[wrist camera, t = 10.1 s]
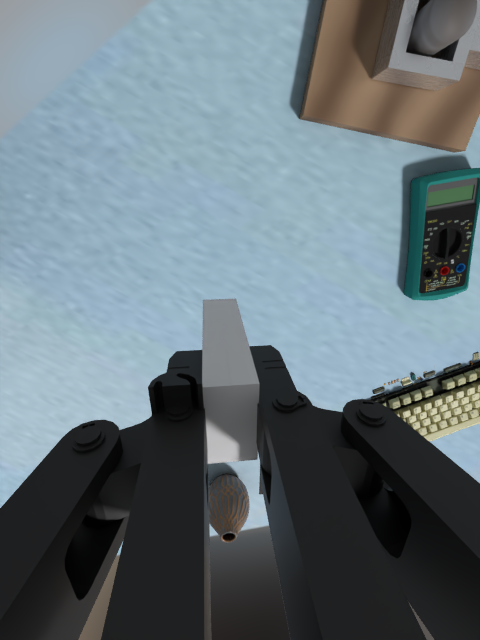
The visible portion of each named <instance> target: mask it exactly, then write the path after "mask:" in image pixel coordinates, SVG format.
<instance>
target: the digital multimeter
mask: <svg viewBox="0 0 480 640" xmlns="http://www.w3.org/2000/svg"><path fill="white" fill-rule="evenodd" d="M479 204H480V168H473V169H461V170H452V171H445V172H439V173H434V174H430V175H426V176H422V177H419V178H415V179H413V180H412V182H411V205H410V234H409V250H408V261H407V272H406V280H405V288H404V295H406V296H407V297H409V298H411V299H413V300H438V299H443V298H447V297H450V296H453V295H455V294H458V293H460V292H463V291H465V290H466V289H467V288H468V283H469V272H470V263H471V256H472V249H473V241H474V235H475V228H476V222H477V216H478V209H479ZM424 222H425V225H424ZM423 234H424V237H423ZM422 246H423V249H422ZM421 258H422V261H421ZM419 283H420V284H419ZM444 289H445V290H444ZM433 291H434V292H433ZM427 292H428V293H427Z"/></svg>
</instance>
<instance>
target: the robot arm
mask: <svg viewBox="0 0 480 640" xmlns="http://www.w3.org/2000/svg"><path fill="white" fill-rule="evenodd" d="M148 390H149V397H150V403H151V410H152V416H151V417H150V418H149V419H147V420H146V421H144V422H142V423H140V424H137V425H135V426H131V427H128V428H125V429H122V430H119V428H118V426H117V425H116V424H114V423H113V422H111V421H107V420H94V421H90V422H87V423H83V424H81V425H79V426H77V427H75V428H74V429H72V430H71V431H69V432H68V433H67V434H66V435H65V436H64V437H63V438H62V439H61V440H60V441H59V442H58V443H57V445H56V446H55V447H54V448H53V449H52V450H51V451H50V452H49V454H48V455H47V456H46V457H45V458H44V459H43V460H42V462H41V463H40V464H39V465H38V466H37V467H36V468H35V470H34V471H33V472H32V473H31V474H30V475H29V476H28V478H27V479H26V480H25V481H24V482H23V483H22V484H21V486H20V487H19V488H18V489H17V490H16V491H15V492H14V494H13V495H12V496H11V497H10V498H9V499H8V500H7V502H6V503H5V504H4V505H3V506H2V507H1V508H0V640H78V639H79V636H80V634H81V632H82V630H83V627H84V625H85V623H86V621H87V619H88V617H89V614H90V612H91V610H92V608H93V605H94V603H95V601H96V599H97V597H98V595H99V592H100V590H101V588H102V586H103V583H104V581H105V579H106V577H107V575H108V572H109V570H110V568H111V566H112V563H113V561H114V559H115V557H116V555H117V553H118V550H119V548H120V546H121V544H122V542H123V545H122V549H121V554H120V558H119V562H118V567H117V572H116V576H115V580H114V585H113V589H112V593H111V598H110V602H109V607H108V611H107V616H106V620H105V624H104V629H103V633H102V638H101V640H211V605H210V604H211V601H210V600H211V599H210V539H209V480H208V464H212V463H223V462H234V461H245V460H256V459H257V457H258V453H259V458H260V487H259V494H263V495H264V500H265V506H266V511H267V516H268V522H269V527H270V532H271V537H272V543H273V548H274V553H275V559H276V564H277V569H278V575H279V580H280V585H281V591H282V596H283V601H284V607H285V612H286V617H287V623H288V628H289V633H290V639H291V640H426V638H425V635H424V634H423V631H422V629H421V627H420V625H419V623H418V621H417V619H416V617H415V615H414V613H413V611H412V609H411V607H410V605H409V603H410V604H411V606H412V608H413V609H414V610H415V612H416V613H417V615H418V616H419V618H420V619H421V621H422V622H423V624H424V625H425V626H426V628H427V629H428V631H429V632H430V634H431V635H432V637H433V638H434V639H435V640H480V483H478V482H477V481H476V480H475V479H474V478H472V477H471V476H470V475H469V474H468V473H466V472H465V471H464V470H463V469H462V468H460V467H459V466H458V465H457V464H456V463H454V462H453V461H452V460H451V459H450V458H448V457H447V456H446V455H445V454H444V453H442V452H441V451H440V450H439V449H438V448H436V447H435V446H434V445H433V444H432V443H430V442H429V441H428V440H427V439H425V438H424V437H423V436H422V435H421V434H419V433H418V432H417V431H416V430H415V429H413V428H412V427H411V426H410V425H409V424H407V423H406V422H405V421H404V420H403V419H401V418H400V417H399V416H398V415H397V414H395V413H394V412H393V411H392V410H390V409H389V408H387V407H386V406H384V405H383V404H380V403H377V402H375V401H372V400H365V399H358V400H352V401H350V402H348V403H346V405H345V406H344V408H343V412H338V411H331V410H325V409H321V408H317V407H315V406H312V403H311V402H310V400H309V399H308V398H307V397H306V396H305V395H304V394H302V393H300V392H299V391H297V390H296V388H295V385H294V383H293V381H292V379H291V376H290V374H289V372H288V370H287V368H286V365H285V363H284V361H283V359H282V357H281V354H280V352H279V351H278V350H276V349H275V348H274V347H272V346H271V345H268V346H249V344H248V340H247V337H246V333H245V329H244V326H243V322H242V319H241V315H240V311H239V308H238V304H237V301H236V299H216V300H203V350H194V351H177V352H176V353H175V354H174V355H173V356H172V357H171V358H170V359H169V363H168V369H167V373H165V374H162V375H160V376H158V377H157V378H155V379H154V380H153V381H152V382H151V383H150V385H149V387H148ZM123 539H124V540H123ZM407 600H408V601H407ZM408 602H409V603H408Z"/></svg>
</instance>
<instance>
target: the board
mask: <svg viewBox="0 0 480 640" xmlns="http://www.w3.org/2000/svg"><path fill="white" fill-rule="evenodd" d="M389 1H390V0H323V4H322V9H321V14H320V19H319V24H318V29H317V34H316V39H315V44H314V48H313V53H312V58H311V63H310V68H309V73H308V78H307V83H306V88H305V93H304V98H303V103H302V108H301V113H300V118H299V119H302V120H307V121H312V122H316V123H321V124H325V125H330V126H335V127H339V128H344V129H349V130H353V131H358V132H362V133H367V134H372V135H376V136H381V137H386V138H390V139H395V140H399V141H404V142H409V143H413V144H418V145H423V146H427V147H432V148H437V149H441V150H446V151H450V152H461V151H465V150H466V147H467V145H468V142H469V140H470V137H471V135H472V132H473V129H474V127H475V124H476V122H477V119H478V117H479V114H480V70H478V69H472V68H467V67H464V68H463V72H462V75H461V78H460V81H458V82H456V83H453V84H451V85H449V86H447V87H445V88H442V89H440V90H438V91H434V90H428V89H423V88H417V87H412V86H406V85H401V84H395V83H390V82H384V81H378V80H373V79H372V75H373V71H374V66H375V62H376V58H377V53H378V49H379V45H380V40H381V36H382V32H383V27H384V23H385V19H386V14H387V10H388V5H389ZM476 11H477V0H430V1H429V2H428V3H427V4H426V5H425V6H424V7H423V8H421V9H420V8H417V10H416V14H415V18H414V22H413V26H412V30H411V34H410V37H409V41H408V45H407V49H406V53H411V54H416V55H421V56H426V57H432V58H435V54H436V53H437V52H439V51H440V50H442V49H444V48H445V47H447V46H448V45H450V44H452V43H453V42H455V41H456V40H458V39H460V38H461V37H462V36H464V35H465V34H466V32H467V31H468V30H469V29H470V27H471V25H472V23H473V21H474V19H475V16H476Z"/></svg>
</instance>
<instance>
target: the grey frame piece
mask: <svg viewBox="0 0 480 640" xmlns="http://www.w3.org/2000/svg"><path fill="white" fill-rule="evenodd" d="M429 1H430V0H390V1H389V5H388V10H387V14H386V19H385V23H384V27H383V32H382V36H381V40H380V45H379V49H378V53H377V58H376V62H375V66H374V71H373V75H372V79H373V80H378V81H384V82H390V83H395V84H401V85H406V86H412V87H417V88H423V89H428V90H434V91H438V90H440V89H442V88H445V87H447V86H449V85H451V84H453V83H456V82H458V81H460V78H461V75H462V72H463V68H464V67H467V68H472V69H478V70H480V0H477V11H476V16H475V19H474V21H473V23H472V25H471V27H470V29H469V30H468V31H467V32H466V34H465V35H464V36H462V37H461V38H460V39H458V40H456V41H455V42H453V43H452V44H450V45H448V46H447V47H445V48H444V49H442V50H440V51H439V52H437V53H436V54H435V58H432V57H426V56H421V55H416V54H411V53H406V49H407V45H408V41H409V37H410V34H411V30H412V26H413V22H414V18H415V14H416V10H417V8H420V9H421V8H423V7H424V6H425V5H426V4H427V3H428V2H429Z"/></svg>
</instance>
